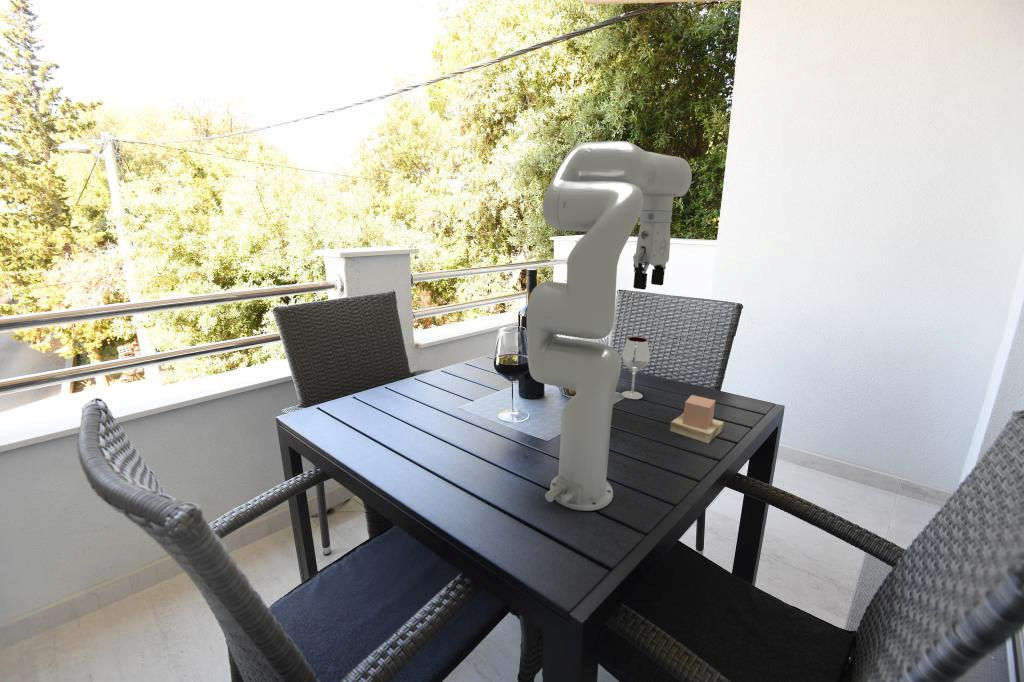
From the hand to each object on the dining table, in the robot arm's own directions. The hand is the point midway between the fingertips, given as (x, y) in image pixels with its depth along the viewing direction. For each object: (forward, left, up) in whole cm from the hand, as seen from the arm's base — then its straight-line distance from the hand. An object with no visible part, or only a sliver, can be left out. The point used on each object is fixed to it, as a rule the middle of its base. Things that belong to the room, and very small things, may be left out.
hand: (648, 286), depth 125 cm
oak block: (+3, -16, -37) cm, 40 cm away
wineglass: (+13, +8, -36) cm, 40 cm away
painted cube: (+3, -16, -34) cm, 38 cm away
